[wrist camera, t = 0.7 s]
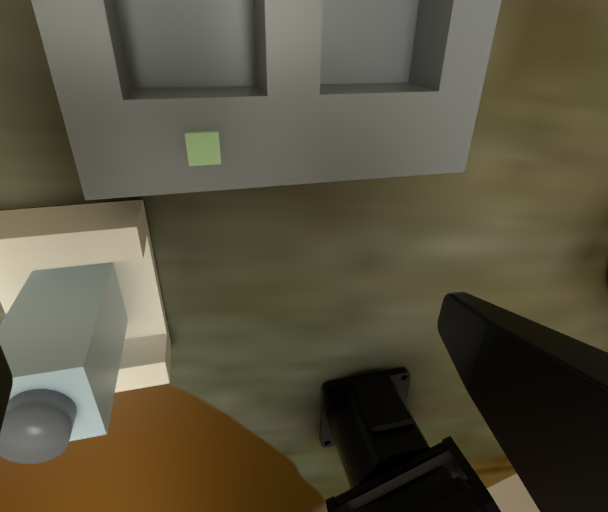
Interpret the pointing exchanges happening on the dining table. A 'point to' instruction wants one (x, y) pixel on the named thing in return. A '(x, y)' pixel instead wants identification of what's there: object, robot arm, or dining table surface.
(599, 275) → the dining table surface
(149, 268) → the holster
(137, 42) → the port panel
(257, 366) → the dining table surface
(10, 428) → the plug
